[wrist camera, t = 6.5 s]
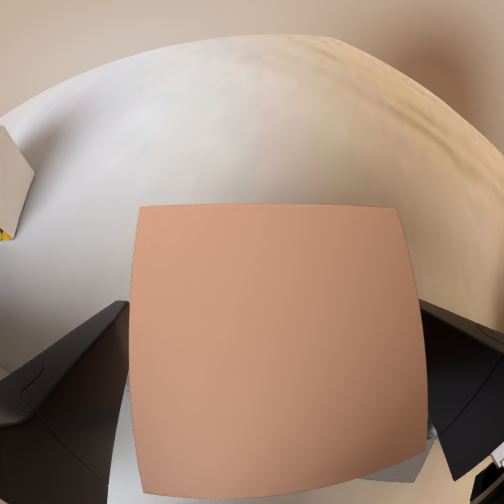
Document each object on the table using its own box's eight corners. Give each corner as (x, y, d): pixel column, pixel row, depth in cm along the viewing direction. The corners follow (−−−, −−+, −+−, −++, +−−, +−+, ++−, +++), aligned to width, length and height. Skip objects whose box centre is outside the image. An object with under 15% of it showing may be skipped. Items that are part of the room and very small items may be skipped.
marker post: (291, 393, 14) (425, 451, 3) (204, 398, 14) (143, 492, 3) (285, 312, 16) (396, 208, 5) (201, 315, 16) (140, 206, 5)
